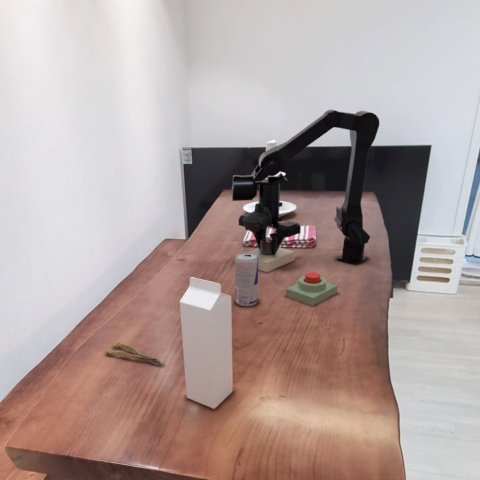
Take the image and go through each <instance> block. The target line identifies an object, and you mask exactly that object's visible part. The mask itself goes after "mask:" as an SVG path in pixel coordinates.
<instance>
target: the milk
mask: <svg viewBox="0 0 480 480" xmlns="http://www.w3.org/2000/svg"><path fill="white" fill-rule="evenodd" d="M179 311H180V312H179V314H180V322H181V323H180V325H181V338H182V353H183V354H182V355H183V365H184V366H183V367H184V368H183V369H184V379H185V394H186V398H187V399H189V400H192V401H194V402H196V403H199V404H201V405H203V406H206V407H208V408H210V409H213V410H216V408H217V407H218V406H219V405H220V404H221V403H222V402H224V401H225V400H226V398H228V396H230V395H231V394H232V393H233V390H234V388H233V387H234V384H233V382H234V381H233V377H234V376H233V320H232V319H233V318H232V317H233V316H232V296H231V295H229V294H226V293H223V292H222V285H221V284H220V283H218V282H214V281H211V280H206V279H201V278H197V277H193V276H190V277H189V286H188V288H187V289H186V291H185V292H184V294H183V295H182V297H181V298H180V300H179Z"/></svg>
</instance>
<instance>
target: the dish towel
mask: <svg viewBox="0 0 480 480" xmlns="http://www.w3.org/2000/svg"><path fill="white" fill-rule="evenodd" d="M300 227H301V228H300V233H299V234H296V235H293V236H290V237H285V238H284V239H283V241H282V243H281V245H280V248H284V249H286V248H293V249H296V248H297V249H300V248H301V249H306V248H307V249H308V248H309V249H312V248H313V246H315V244H317V233H316V225H314V224H313V225H300ZM272 233H274V229H272V228H268V227H267V232H266V237H270V235H269V234H272ZM242 242H243V243H242V245H243V246H244V247H257V248H259V247H258V244H257V241H256V239H255V236H254V234H253V233H252V232H251V231H249V230H246V233H245V234H244V238H243V241H242Z"/></svg>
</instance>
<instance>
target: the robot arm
mask: <svg viewBox="0 0 480 480" xmlns="http://www.w3.org/2000/svg"><path fill="white" fill-rule="evenodd" d="M379 127H380V118H379V117H378V115H377V114H375V113H373V112H370V111H366V110H359V111H357V112H355V113H352V112H345V111H338V110H335V109H328V110H326V111H325V112H324V113H323V114H322V115H320V116H319V117H318V118H317V119H315V120H314V121H312V122H311V123H310V124H309V125H307V126H305V127H304V128H303V129H302V130H300V131H299V132H298V133H296V134H295V135H294V136H292V137H291V138H290V139H288V140H286V141H285V142H283V143H281V144H278V145H276V147H273V148H271V149H269V150H268V151H266V150H265V151H264V152H262V154H261V155H259V159H258V164H257V166H256V167H255V168H254V170H253V171H252V173H251V174H249V175H247V174H246V175H239V174H233V176H232V185H231V199H232V202H244V201H254V199H256V197H257V196H258V201H259V203H257V204H256V205H255V210H254V211H253V212H251V213H249V212H246V213H243V214H241V215H240V216H239V218H238V226H240V227H243V228H244V229H245V231H247V230H249V231H251V232H252V233H253V234H254V236H255V239H256V241H257V244H258V247H257V248H259V250H260V239H261V238H265V237H266V232H267V227H268V228H272V229H274V233H272V234H269V235H270V237H271V238H272V255H275V254H276V252H277V250H278V249H279V247H280V245H281V243H282V241H283V239H284V238H285V237H290V236H293V235H296V234H299V233H300V228H301V227H300V226H301V224H299V222H295V221H291V220H287V221H284V222H281V221H282V220H283V218H282V217H283V216H280V217H279V207H281V206H282V202H279V201H281V200H280V199H281V198H280V197H281V184H288V182H289V180H288V179H287V178H286V177H285V175H284V176H283V174H282V173H280V174H279V175H278V176H275V175H277V174H278V173H279V172H282V170H284V168H285V167H287V165H288V164H289V163H290V162H291V160H292V159H293V158H294V157H295V156H296V155H298V154H299V153H300V152H302V151H303V150H304V149H305V148H307V147H309V146H310V145H311V144H313V143H314V142H315V141H317V140H318V139H320V138H321V137H322V136H324V135H325V134H326V133H328V132H330V131H331V130H332V129H334V128H337V129H342V130H347V131H349V140H350V147H351V151H350V160H349V166H348V174H347V181H346V188H345V196H344V201H343V203H342V205H341V206H340V207H339V206H336V208H335V210H336V211H335V213H336V216H335V218H334V222H335V223H336V227H337V229H339V231H340V232H341V234H342V235H343V236H344V238H343V245H342V253H341V255H340V256H338V257H336V259H337V260H338V261H342V262H346V263H349V264H352V265H358V264H361V263H363V262H365V261H367V260H369V256H366V255H364V254H365V248H366V247H365V246H366V244H368V243H369V241H370V239H371V235H370V234H369V233H368V232H367V231H366V230H365V229H364V216H363V209H362V198H363V191H364V185H365V179H366V173H367V167H368V161H369V153H370V152H369V151H370V149H371V147H372V145H373V144H374V141H375V140H376V137H377V134H378V130H379ZM265 178H267V179H265ZM280 248H281V247H280Z"/></svg>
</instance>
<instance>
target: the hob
mask: <svg viewBox="0 0 480 480" xmlns="http://www.w3.org/2000/svg"><path fill="white" fill-rule="evenodd" d="M245 253H254V254H256V255H257V258H258V271H262V272H265V273H269V272H271V271H273V270H276V269H278V268H281V267H282V266H285V265H288V264H290V263H292V262H294V261H295V251H294V250H291V249H287V248H283V247H279V249H278V250H277V252H276V254H275V255H262V254H261V253H260V250H259V247H257V248H255V249H252V250H249V251H247V252H245Z"/></svg>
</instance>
